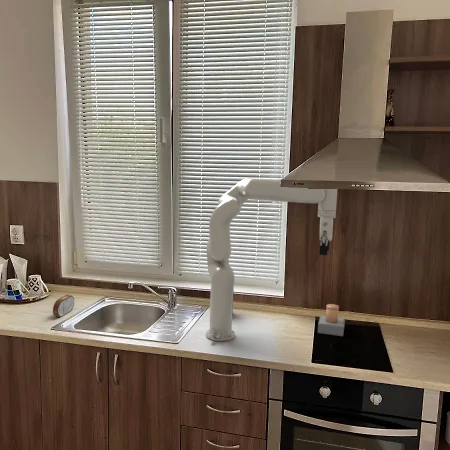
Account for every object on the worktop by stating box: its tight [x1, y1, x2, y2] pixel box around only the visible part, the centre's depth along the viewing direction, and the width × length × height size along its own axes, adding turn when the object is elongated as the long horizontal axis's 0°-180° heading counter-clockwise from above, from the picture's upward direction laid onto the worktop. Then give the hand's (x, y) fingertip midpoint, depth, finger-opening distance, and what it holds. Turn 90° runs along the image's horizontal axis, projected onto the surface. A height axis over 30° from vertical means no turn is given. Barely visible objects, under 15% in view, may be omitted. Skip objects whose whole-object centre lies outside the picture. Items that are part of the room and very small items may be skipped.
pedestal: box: [317, 315, 346, 337], centre depth 204 cm, size 11×11×4 cm
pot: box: [325, 303, 340, 323], centre depth 203 cm, size 6×6×7 cm
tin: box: [52, 294, 75, 318], centre depth 214 cm, size 15×3×8 cm, turn 168°
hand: (324, 252), depth 197 cm, fingers open, 9 cm apart
